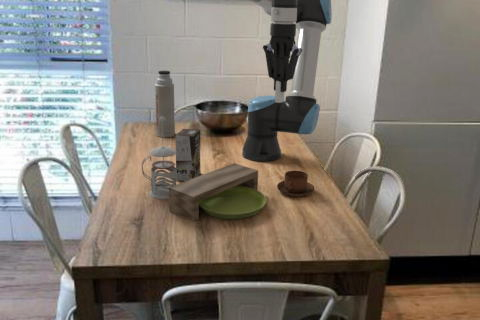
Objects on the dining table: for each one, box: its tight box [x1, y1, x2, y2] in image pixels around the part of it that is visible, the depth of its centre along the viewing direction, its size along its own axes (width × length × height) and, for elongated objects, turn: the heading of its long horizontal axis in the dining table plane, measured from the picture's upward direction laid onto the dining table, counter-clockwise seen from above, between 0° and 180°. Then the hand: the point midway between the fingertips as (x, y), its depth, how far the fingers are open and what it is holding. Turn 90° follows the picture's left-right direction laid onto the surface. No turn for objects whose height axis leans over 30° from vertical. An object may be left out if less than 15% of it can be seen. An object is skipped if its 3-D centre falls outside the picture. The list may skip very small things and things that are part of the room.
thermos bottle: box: [154, 70, 176, 138], centre depth 218 cm, size 8×8×28 cm
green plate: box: [199, 186, 267, 220], centre depth 151 cm, size 21×21×3 cm
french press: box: [141, 117, 177, 200], centre depth 156 cm, size 10×12×25 cm
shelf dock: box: [168, 162, 259, 222], centre depth 154 cm, size 10×29×8 cm, turn 140°
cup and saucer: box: [276, 170, 315, 197], centre depth 163 cm, size 12×12×6 cm
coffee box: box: [175, 128, 201, 182], centre depth 172 cm, size 9×6×16 cm
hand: (279, 101), depth 156 cm, fingers closed
